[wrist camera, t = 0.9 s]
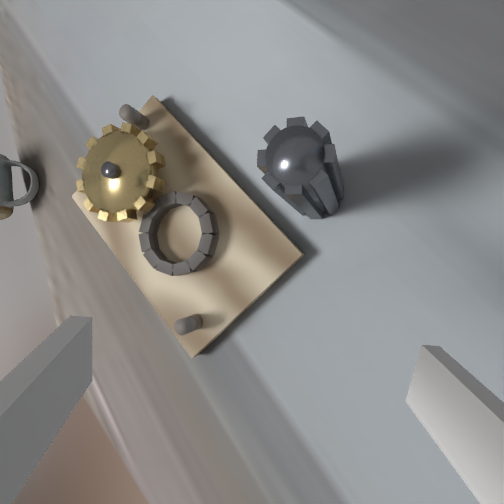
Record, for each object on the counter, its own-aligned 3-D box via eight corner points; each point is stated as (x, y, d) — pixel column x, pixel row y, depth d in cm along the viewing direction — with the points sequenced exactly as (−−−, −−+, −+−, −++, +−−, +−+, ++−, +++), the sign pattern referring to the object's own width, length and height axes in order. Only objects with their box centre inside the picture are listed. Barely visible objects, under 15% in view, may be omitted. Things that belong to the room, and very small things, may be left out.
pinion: (318, 159, 32) (295, 101, 20) (354, 193, 30) (351, 151, 19) (283, 195, 33) (242, 158, 21) (316, 229, 31) (292, 209, 20)
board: (160, 101, 38) (135, 80, 33) (304, 254, 32) (296, 253, 27) (81, 198, 41) (49, 191, 37) (198, 354, 35) (176, 367, 31)
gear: (140, 117, 37) (110, 98, 32) (193, 177, 34) (169, 164, 30) (87, 183, 39) (53, 173, 35) (134, 243, 36) (103, 241, 32)
